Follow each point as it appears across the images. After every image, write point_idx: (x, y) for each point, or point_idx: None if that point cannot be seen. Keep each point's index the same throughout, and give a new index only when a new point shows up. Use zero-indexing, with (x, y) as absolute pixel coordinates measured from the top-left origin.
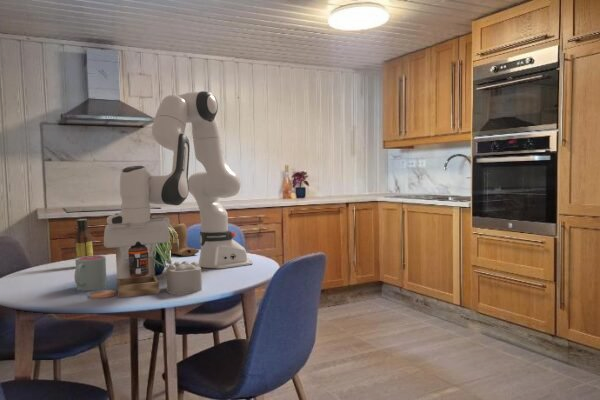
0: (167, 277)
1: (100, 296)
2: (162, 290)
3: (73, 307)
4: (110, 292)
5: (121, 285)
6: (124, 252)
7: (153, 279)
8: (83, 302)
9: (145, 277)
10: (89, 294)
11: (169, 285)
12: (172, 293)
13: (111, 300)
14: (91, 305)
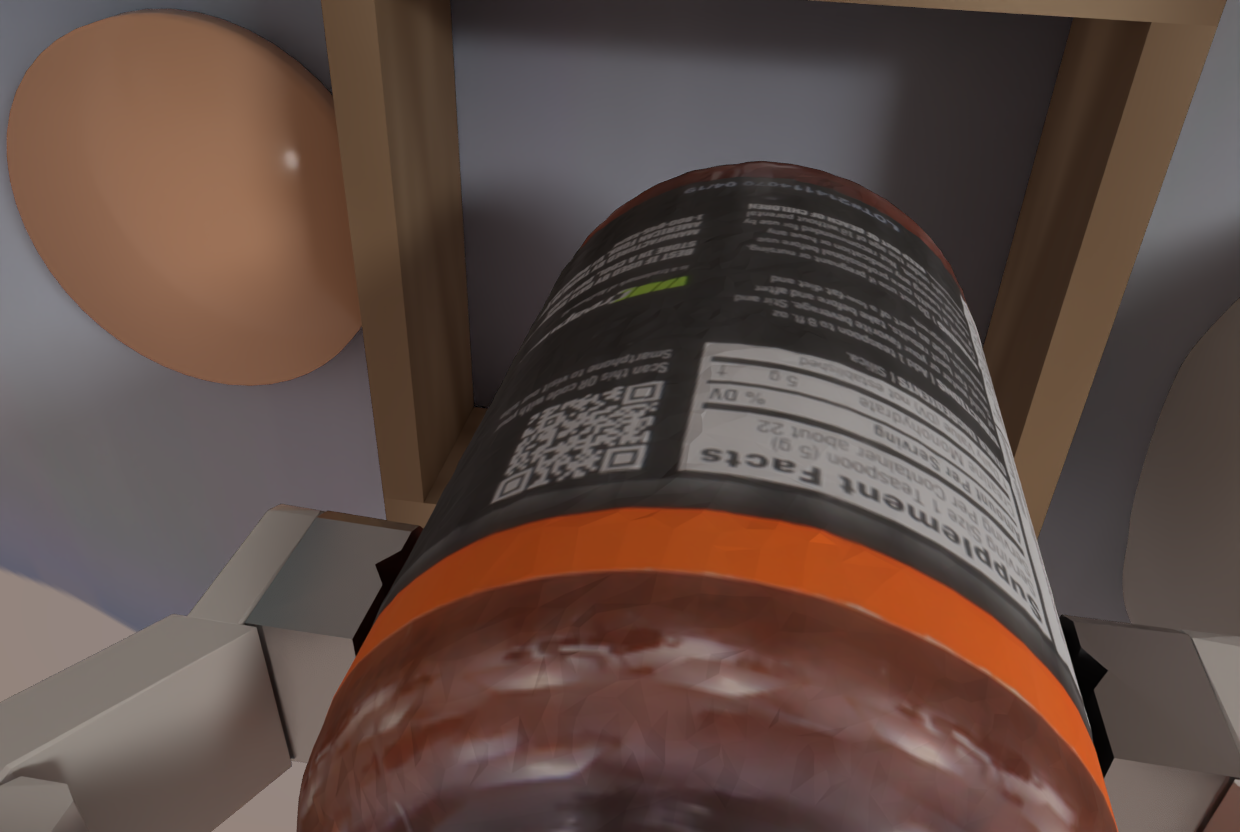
0: (1227, 608)
1: (203, 373)
2: (1095, 375)
3: (22, 554)
4: (304, 253)
5: (430, 508)
6: (191, 766)
7: (1089, 165)
8: (58, 424)
9: (961, 4)
10: (19, 211)
11: (1160, 609)
12: (1127, 609)
13: (364, 507)
14: (184, 578)
